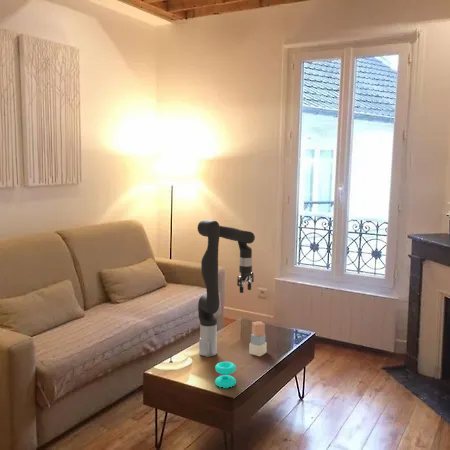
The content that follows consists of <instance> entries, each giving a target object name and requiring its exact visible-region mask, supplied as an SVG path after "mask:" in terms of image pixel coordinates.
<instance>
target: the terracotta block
mask: <svg viewBox="0 0 450 450" xmlns="http://www.w3.org/2000/svg"><path fill="white" fill-rule="evenodd" d="M251 334H253V335H254V336H264V335H265V334H266V324H265V323H264V321H263V322H262V320H260V321H252V322H251Z"/></svg>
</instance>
